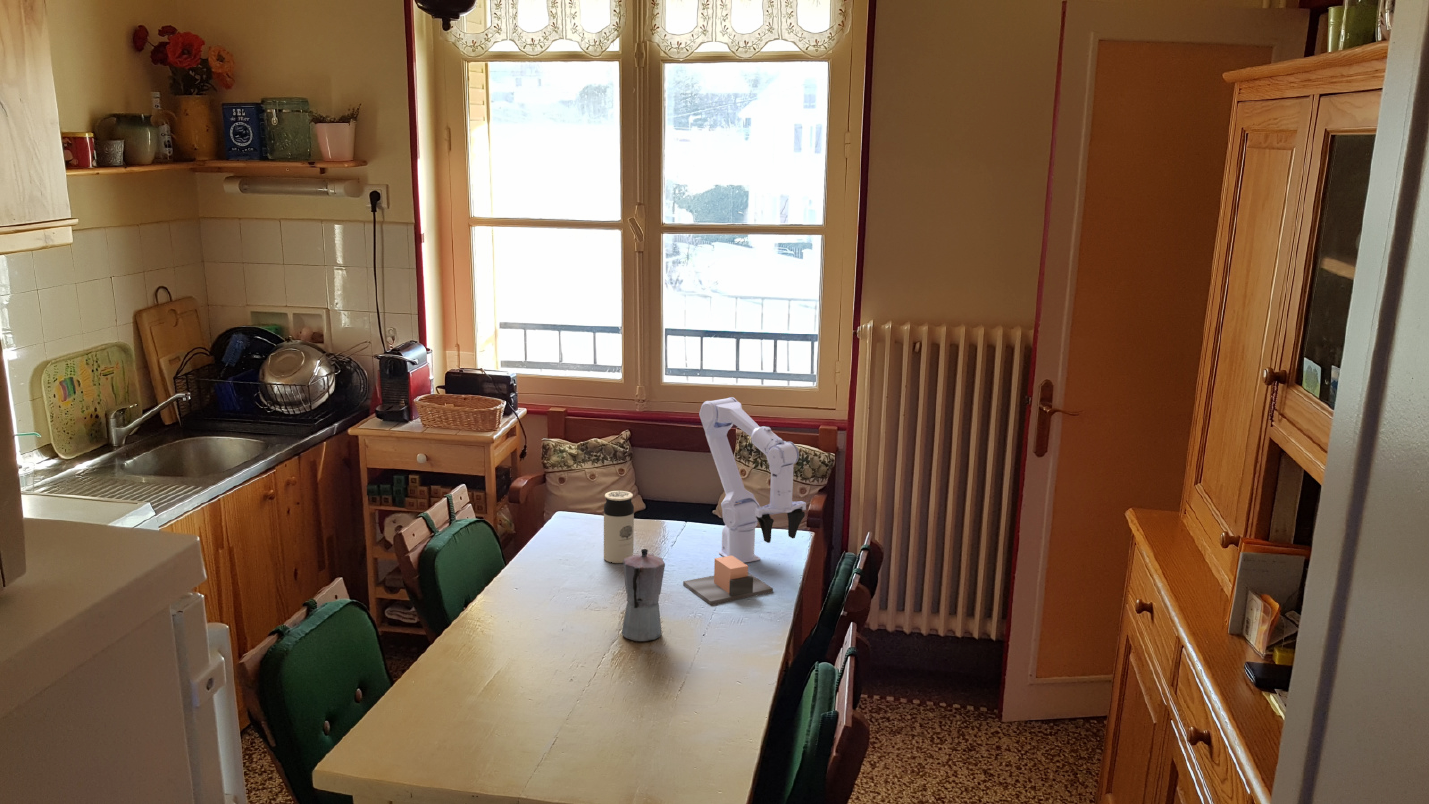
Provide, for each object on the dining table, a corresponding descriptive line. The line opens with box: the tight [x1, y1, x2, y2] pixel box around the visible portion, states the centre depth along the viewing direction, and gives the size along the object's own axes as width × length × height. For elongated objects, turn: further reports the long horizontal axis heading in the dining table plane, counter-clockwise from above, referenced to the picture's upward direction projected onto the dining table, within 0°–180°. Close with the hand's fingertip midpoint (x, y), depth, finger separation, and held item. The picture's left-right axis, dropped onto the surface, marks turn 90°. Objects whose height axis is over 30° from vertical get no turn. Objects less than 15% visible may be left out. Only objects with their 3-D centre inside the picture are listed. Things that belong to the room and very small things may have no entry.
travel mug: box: [603, 490, 635, 564], centre depth 279 cm, size 8×8×18 cm
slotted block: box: [713, 555, 749, 593], centre depth 261 cm, size 8×5×6 cm, turn 29°
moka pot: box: [621, 548, 666, 642], centre depth 233 cm, size 10×15×20 cm, turn 174°
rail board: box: [682, 572, 774, 606], centre depth 262 cm, size 14×18×5 cm
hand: (779, 539), depth 271 cm, fingers open, 7 cm apart
